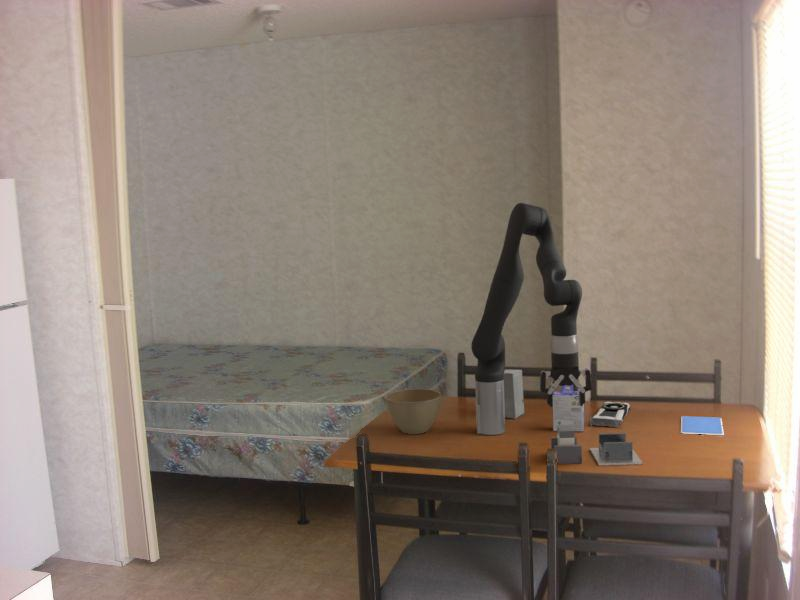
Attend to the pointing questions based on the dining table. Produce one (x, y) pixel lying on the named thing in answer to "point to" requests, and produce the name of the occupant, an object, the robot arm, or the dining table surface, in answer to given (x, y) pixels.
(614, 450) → the block
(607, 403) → the graphics card
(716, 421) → the tablet computer
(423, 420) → the flower pot
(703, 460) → the dining table surface
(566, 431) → the plug
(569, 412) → the ink cartridge box
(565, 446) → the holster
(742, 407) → the dining table surface
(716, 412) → the dining table surface
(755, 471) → the dining table surface
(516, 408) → the skincare box
